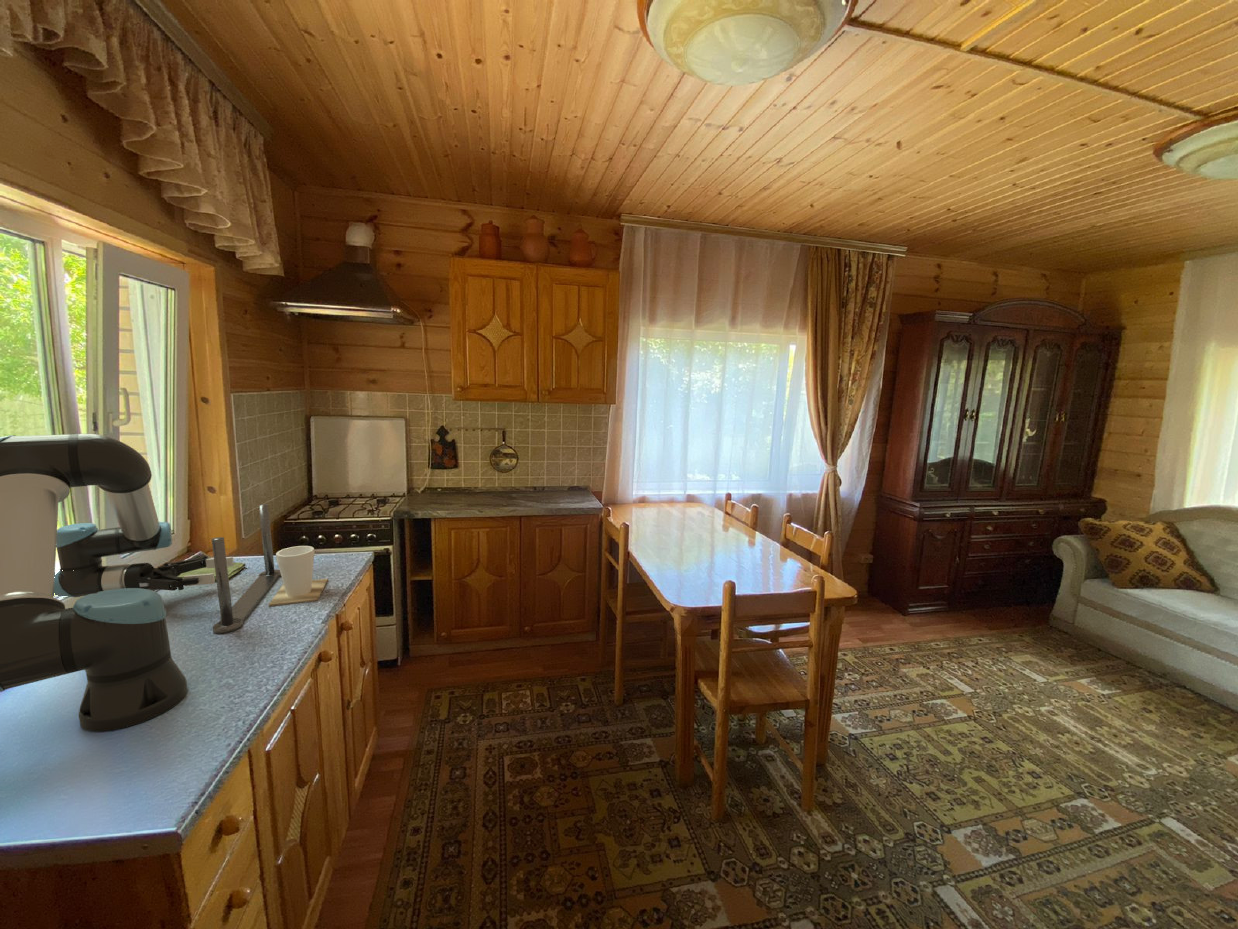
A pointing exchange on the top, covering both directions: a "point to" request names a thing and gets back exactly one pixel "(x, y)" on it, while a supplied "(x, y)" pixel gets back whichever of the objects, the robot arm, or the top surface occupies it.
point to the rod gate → (243, 607)
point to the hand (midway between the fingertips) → (224, 569)
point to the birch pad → (309, 597)
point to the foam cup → (296, 569)
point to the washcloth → (231, 570)
